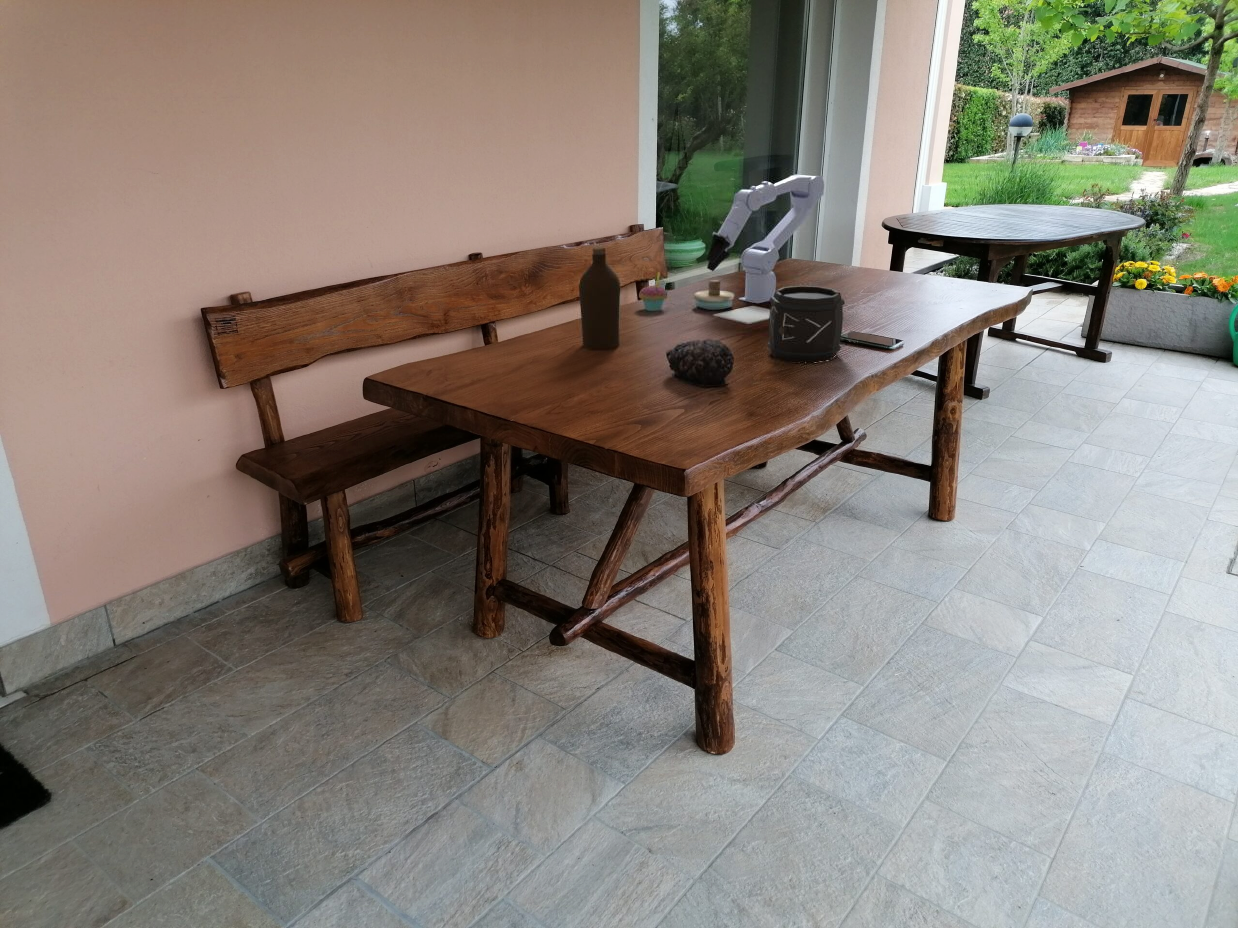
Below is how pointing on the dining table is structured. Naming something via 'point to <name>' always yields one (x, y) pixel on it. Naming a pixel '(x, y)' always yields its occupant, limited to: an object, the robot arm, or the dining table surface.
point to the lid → (714, 293)
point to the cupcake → (653, 296)
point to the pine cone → (701, 362)
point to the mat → (746, 314)
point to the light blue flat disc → (713, 305)
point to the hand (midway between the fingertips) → (710, 265)
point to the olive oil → (600, 304)
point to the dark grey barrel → (805, 323)
